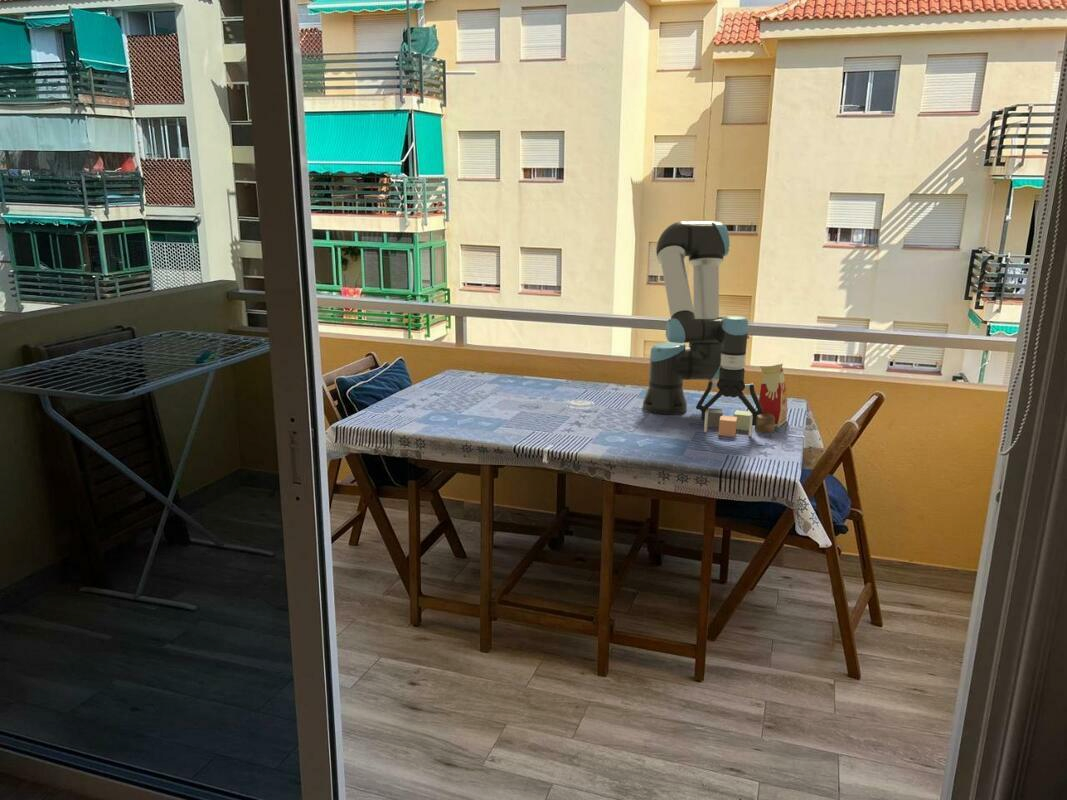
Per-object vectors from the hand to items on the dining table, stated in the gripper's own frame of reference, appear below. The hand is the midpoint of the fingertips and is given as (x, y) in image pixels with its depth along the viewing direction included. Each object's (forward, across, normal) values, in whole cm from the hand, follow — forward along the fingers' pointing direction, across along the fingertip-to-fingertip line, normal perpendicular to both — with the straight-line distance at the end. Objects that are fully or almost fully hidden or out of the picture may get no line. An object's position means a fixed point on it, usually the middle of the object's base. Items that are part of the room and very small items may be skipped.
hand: (727, 433), depth 244 cm
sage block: (0, +4, +8) cm, 9 cm away
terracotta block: (0, 0, 0) cm, 0 cm away
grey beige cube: (0, -5, +8) cm, 10 cm away
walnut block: (0, +11, +7) cm, 13 cm away
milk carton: (0, +12, +18) cm, 22 cm away
